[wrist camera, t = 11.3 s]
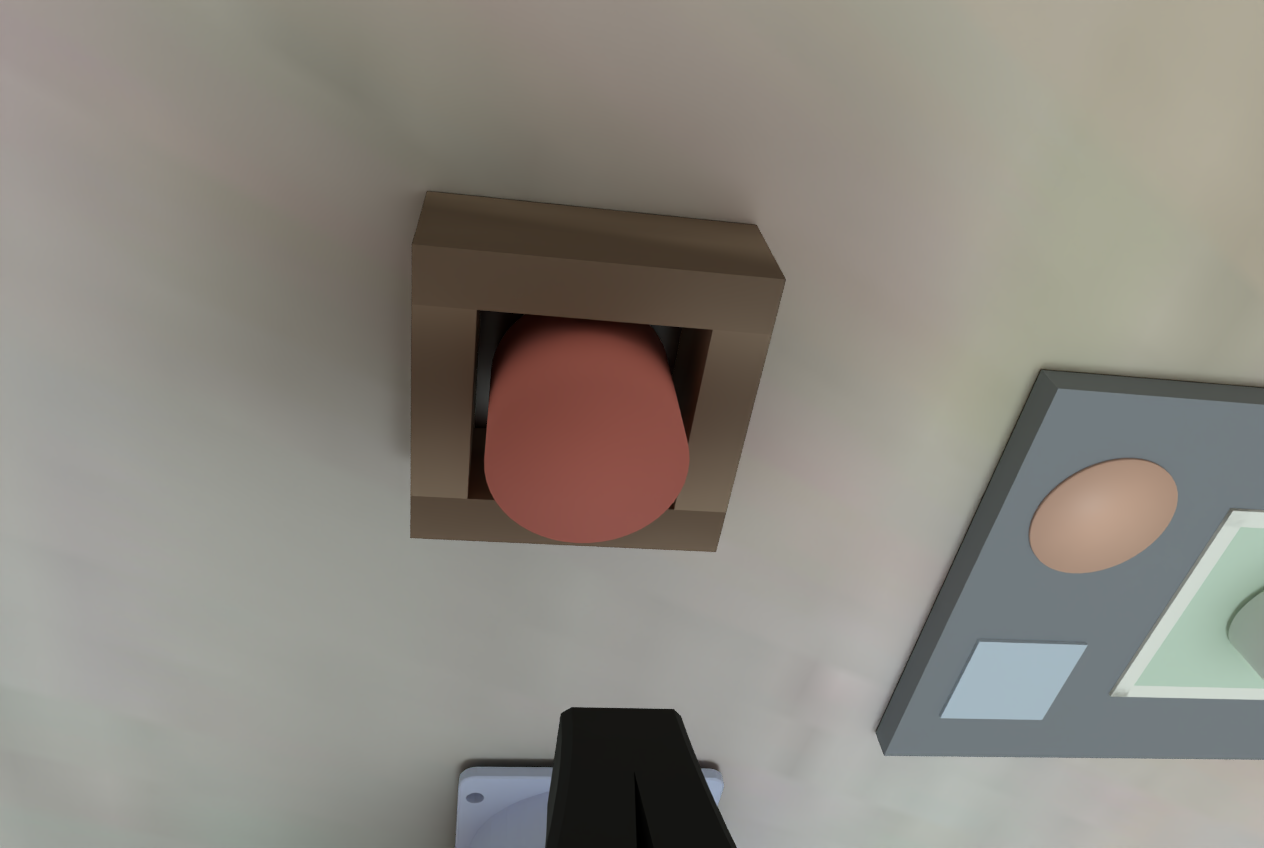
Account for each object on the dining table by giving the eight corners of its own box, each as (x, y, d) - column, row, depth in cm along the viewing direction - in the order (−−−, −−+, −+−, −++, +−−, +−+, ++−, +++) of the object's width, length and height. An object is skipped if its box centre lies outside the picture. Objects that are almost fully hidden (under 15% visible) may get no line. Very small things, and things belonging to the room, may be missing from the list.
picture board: (1302, 739, 30) (1321, 762, 29) (875, 733, 27) (884, 758, 27) (1585, 414, 23) (1621, 435, 22) (1041, 369, 20) (1060, 391, 20)
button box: (698, 480, 21) (715, 551, 19) (422, 464, 20) (410, 537, 18) (757, 225, 18) (786, 279, 16) (427, 191, 17) (411, 244, 15)
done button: (654, 453, 19) (671, 547, 17) (487, 443, 19) (479, 538, 16) (682, 305, 17) (706, 386, 15) (496, 289, 17) (489, 370, 14)
